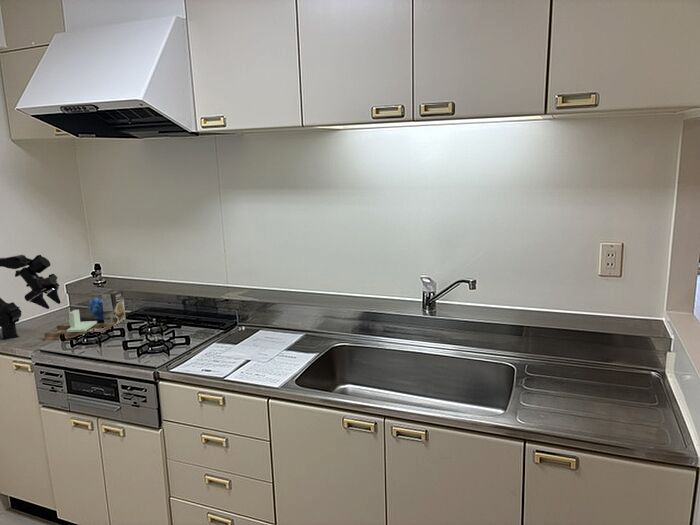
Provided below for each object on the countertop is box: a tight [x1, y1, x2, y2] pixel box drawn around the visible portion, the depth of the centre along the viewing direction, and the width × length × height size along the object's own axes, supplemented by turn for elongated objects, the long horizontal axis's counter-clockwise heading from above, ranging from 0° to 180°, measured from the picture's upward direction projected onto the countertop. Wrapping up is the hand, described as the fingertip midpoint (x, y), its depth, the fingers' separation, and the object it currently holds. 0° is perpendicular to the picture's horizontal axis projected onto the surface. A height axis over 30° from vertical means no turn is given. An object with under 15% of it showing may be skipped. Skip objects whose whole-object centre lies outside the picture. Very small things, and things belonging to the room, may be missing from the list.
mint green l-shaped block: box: [67, 309, 98, 332], centre depth 241 cm, size 8×14×8 cm, turn 5°
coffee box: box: [101, 289, 126, 326], centre depth 258 cm, size 9×6×16 cm
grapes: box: [88, 296, 104, 321], centre depth 263 cm, size 12×7×12 cm, turn 80°
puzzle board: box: [43, 322, 116, 341], centre depth 241 cm, size 26×16×3 cm, turn 95°
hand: (54, 305), depth 237 cm, fingers open, 9 cm apart
